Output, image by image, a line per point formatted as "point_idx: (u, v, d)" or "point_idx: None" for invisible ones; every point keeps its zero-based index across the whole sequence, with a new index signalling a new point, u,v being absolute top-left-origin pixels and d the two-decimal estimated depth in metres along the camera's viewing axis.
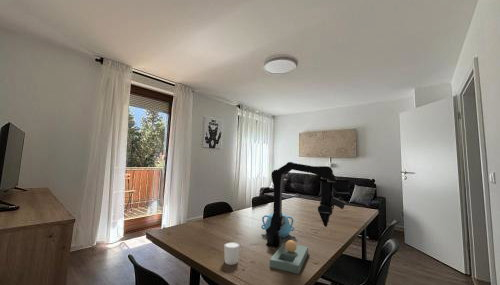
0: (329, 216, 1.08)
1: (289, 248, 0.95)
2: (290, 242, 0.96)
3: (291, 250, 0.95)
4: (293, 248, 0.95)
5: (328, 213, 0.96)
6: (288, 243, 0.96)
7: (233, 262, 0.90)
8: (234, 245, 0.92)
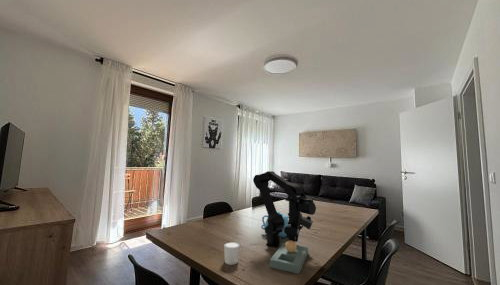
0: (298, 235, 1.07)
1: (289, 249, 0.95)
2: (290, 243, 0.96)
3: (291, 251, 0.95)
4: (293, 249, 0.94)
5: (294, 234, 0.97)
6: (288, 244, 0.95)
7: (233, 262, 0.90)
8: (234, 245, 0.92)
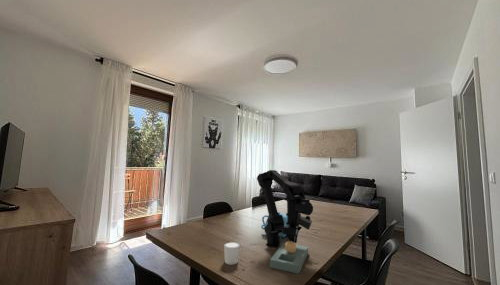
0: (297, 236, 1.03)
1: (289, 251, 0.94)
2: (289, 245, 0.94)
3: (291, 252, 0.94)
4: (293, 251, 0.94)
5: None
6: (287, 246, 0.94)
7: (233, 262, 0.90)
8: (234, 245, 0.92)
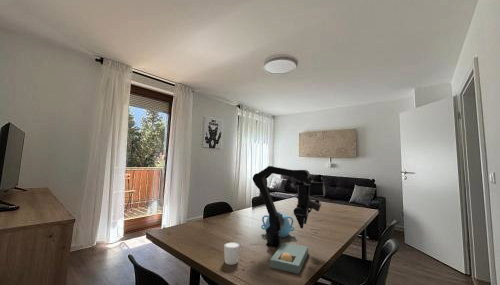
0: None
1: None
2: None
3: (288, 253, 0.91)
4: None
5: (303, 215, 1.00)
6: None
7: (233, 262, 0.90)
8: (234, 245, 0.92)
